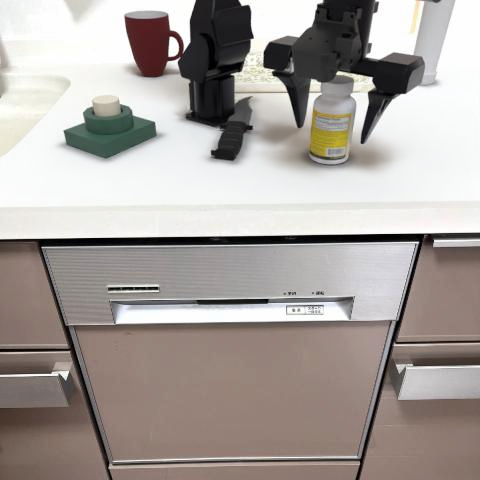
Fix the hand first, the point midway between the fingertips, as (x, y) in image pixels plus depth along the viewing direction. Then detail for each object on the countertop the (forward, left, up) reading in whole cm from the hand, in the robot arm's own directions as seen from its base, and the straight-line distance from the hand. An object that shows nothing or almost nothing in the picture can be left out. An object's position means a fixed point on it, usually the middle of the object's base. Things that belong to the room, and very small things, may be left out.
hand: (330, 135), depth 62 cm
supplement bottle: (0, 0, -3) cm, 3 cm away
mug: (+45, -16, -3) cm, 48 cm away
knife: (+16, -2, -3) cm, 17 cm away
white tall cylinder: (+2, -42, -3) cm, 42 cm away
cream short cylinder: (+28, +13, +1) cm, 31 cm away
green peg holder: (+28, +13, -3) cm, 31 cm away
